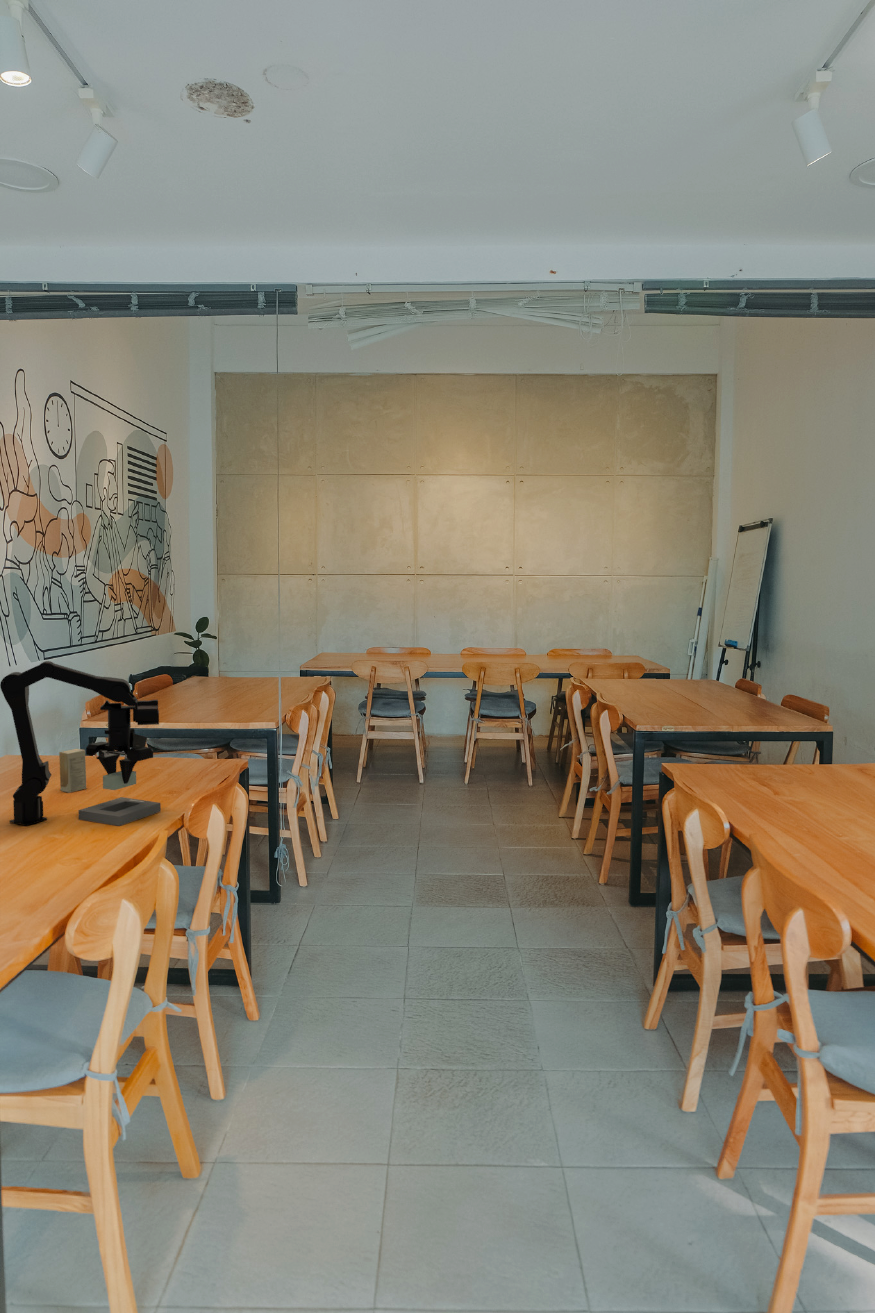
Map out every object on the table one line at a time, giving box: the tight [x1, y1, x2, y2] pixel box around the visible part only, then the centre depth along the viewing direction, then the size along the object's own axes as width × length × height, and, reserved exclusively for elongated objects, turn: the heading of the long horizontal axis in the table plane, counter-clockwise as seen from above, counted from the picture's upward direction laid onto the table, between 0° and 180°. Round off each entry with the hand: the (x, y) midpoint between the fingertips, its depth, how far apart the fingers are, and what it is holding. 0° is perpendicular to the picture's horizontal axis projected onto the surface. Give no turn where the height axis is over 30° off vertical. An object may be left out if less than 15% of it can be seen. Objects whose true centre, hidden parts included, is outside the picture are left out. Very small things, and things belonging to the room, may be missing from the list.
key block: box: [102, 770, 137, 791], centre depth 220 cm, size 4×8×4 cm, turn 158°
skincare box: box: [58, 748, 87, 794], centre depth 247 cm, size 6×4×12 cm
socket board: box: [77, 796, 162, 827], centre depth 221 cm, size 16×14×3 cm
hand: (119, 782), depth 220 cm, fingers closed on key block, 4 cm apart
